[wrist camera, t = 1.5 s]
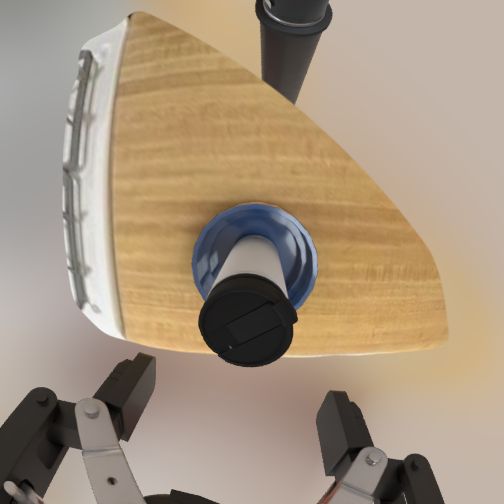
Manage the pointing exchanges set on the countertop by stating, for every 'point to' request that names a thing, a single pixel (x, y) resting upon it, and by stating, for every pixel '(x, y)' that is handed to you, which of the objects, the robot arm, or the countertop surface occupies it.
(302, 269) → the bowl
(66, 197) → the countertop surface
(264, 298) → the travel mug
